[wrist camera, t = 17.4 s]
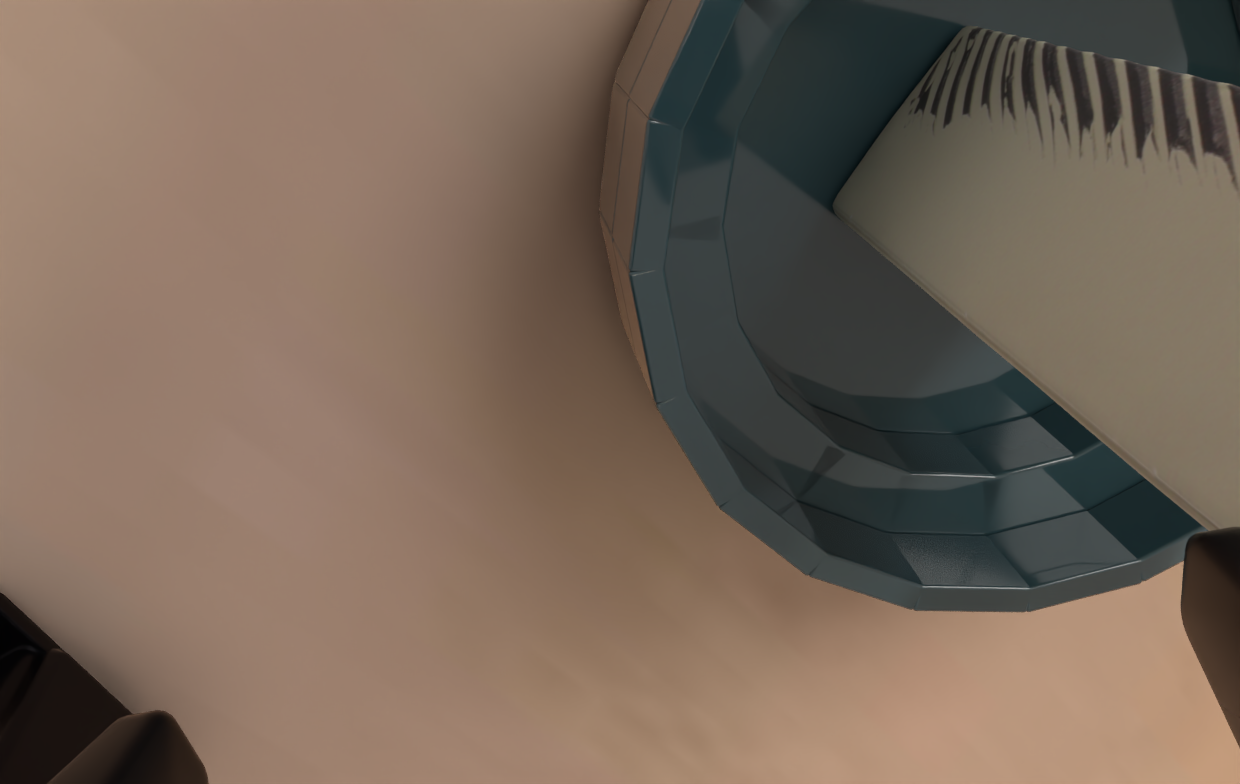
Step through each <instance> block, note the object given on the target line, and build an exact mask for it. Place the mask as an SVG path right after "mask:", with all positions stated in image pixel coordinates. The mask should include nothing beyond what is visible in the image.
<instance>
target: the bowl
mask: <svg viewBox="0 0 1240 784" xmlns="http://www.w3.org/2000/svg"><path fill="white" fill-rule="evenodd" d="M966 26H975V27H980V28H982V29H989V30H992V31H995V32H1002V33H1006V34H1009V35H1016V36H1019V37H1023V38H1030V39H1033V40H1036V41H1043V42H1048V43H1051V44H1054V45H1056V46H1066V47H1070V48H1073V49H1076V50H1079V51H1083V52H1093V53H1098V54H1101V55H1103V56H1106V57H1109V58H1116V59H1123V60H1128V61H1132V62H1135V63H1138V64H1141V65H1146V66H1153V67H1159V68H1162V69H1166V70H1169V71H1172V72H1176V73H1183V74H1189V75H1193V76H1197V77H1201V78H1203V79H1207V80H1210V81H1215V82H1221V83H1228V84H1233V85H1236V86H1239V87H1240V0H648V2H647V4H646V6H645V9H644V11H643V13H642V16H641V18H640V20H639V22H638V25H637V27H636V29H635V32H634V34H633V36H632V38H631V41H630V43H629V45H628V48H627V50H626V52H625V54H624V57H623V59H622V61H621V64H620V66H619V68H618V70H617V73H616V75H615V79H614V80H615V83H614V84H613V86H612V94H611V103H610V112H609V121H608V130H607V139H606V148H605V157H604V166H603V175H602V184H601V193H600V202H599V208H600V211H599V216H600V221H601V226H602V231H603V235H604V240H605V245H606V250H607V254H608V259H609V264H610V269H611V273H612V278H613V283H614V288H615V292H616V297H617V302H618V307H619V311H620V316H621V321H622V324H623V327H624V329H625V332H626V334H627V336H628V339H629V341H630V344H631V346H632V349H633V351H634V354H635V356H636V358H637V361H638V363H639V366H640V369H641V371H642V374H643V376H644V379H645V381H646V384H647V386H648V389H649V391H650V394H651V396H652V398H653V401H654V403H655V406H656V408H657V410H658V411H659V413H660V414H661V416H662V418H663V419H664V421H665V422H666V424H667V426H668V427H669V429H670V431H671V432H672V434H673V435H674V437H675V439H676V440H677V442H678V444H679V445H680V447H681V448H682V450H683V452H684V453H685V455H686V457H687V458H688V460H689V461H690V463H691V465H692V466H693V468H694V470H695V471H696V473H697V474H698V476H699V478H700V479H701V481H702V482H703V484H704V486H705V487H706V489H707V491H708V492H709V494H710V495H711V497H712V499H713V500H714V502H715V504H716V505H717V506H719V508H720V509H721V510H722V511H723V512H725V513H726V514H727V515H728V516H730V517H731V518H732V519H734V520H735V521H736V522H738V523H739V524H740V525H741V526H743V527H744V528H745V529H747V530H748V531H749V532H750V533H752V534H753V535H754V536H756V537H757V538H758V539H760V540H761V541H762V542H763V543H765V544H766V545H767V546H769V547H770V548H771V549H773V550H774V551H775V552H776V553H778V554H779V555H780V556H782V557H783V558H784V559H785V560H787V561H788V562H789V563H791V564H792V565H793V566H795V567H796V568H797V569H798V570H800V571H801V572H802V573H804V574H805V575H809V576H810V577H812V578H815V579H818V580H821V581H825V582H828V583H831V584H834V585H837V586H840V587H843V588H846V589H849V590H852V591H855V592H858V593H861V594H864V595H867V596H870V597H873V598H876V599H879V600H882V601H886V602H889V603H892V604H895V605H898V606H901V607H904V608H907V609H910V610H912V609H913V610H915V611H966V612H1026V611H1027V612H1031V611H1035V610H1039V609H1043V608H1047V607H1051V606H1054V605H1058V604H1062V603H1066V602H1070V601H1074V600H1078V599H1082V598H1086V597H1090V596H1094V595H1098V594H1102V593H1105V592H1109V591H1113V590H1117V589H1121V588H1125V587H1129V586H1133V585H1137V584H1140V583H1141V582H1142V581H1146V580H1148V579H1150V578H1152V577H1154V576H1156V575H1158V574H1160V573H1162V572H1163V571H1165V570H1167V569H1169V568H1171V567H1173V566H1175V565H1177V564H1179V563H1181V562H1183V561H1184V554H1185V547H1186V543H1187V541H1188V539H1189V538H1190V537H1191V536H1192V535H1194V534H1196V533H1199V532H1205V531H1209V530H1207V529H1206V528H1205V527H1203V526H1202V525H1201V524H1200V523H1199V522H1197V521H1196V520H1195V519H1194V518H1193V517H1191V516H1190V515H1189V514H1188V513H1186V512H1185V511H1184V510H1183V509H1182V508H1180V507H1179V506H1178V505H1177V504H1176V503H1174V502H1173V501H1172V500H1171V499H1170V498H1168V497H1167V496H1166V495H1165V494H1163V493H1162V492H1161V491H1160V490H1159V489H1157V488H1156V487H1155V486H1154V485H1153V484H1151V483H1150V482H1149V481H1148V480H1147V479H1145V478H1144V477H1143V476H1142V475H1141V474H1139V473H1138V472H1137V471H1136V470H1135V469H1133V468H1132V467H1131V466H1130V465H1129V464H1128V463H1126V462H1125V461H1124V460H1123V459H1122V458H1121V457H1119V456H1118V455H1117V454H1116V453H1115V452H1113V451H1112V450H1111V449H1110V448H1109V447H1108V446H1106V445H1105V444H1104V443H1103V442H1102V441H1100V440H1099V439H1098V438H1097V437H1096V436H1095V435H1093V434H1092V433H1091V432H1090V431H1089V430H1088V429H1086V428H1085V427H1084V426H1083V425H1082V424H1080V423H1079V422H1078V421H1077V420H1076V419H1075V418H1073V417H1072V416H1071V415H1070V414H1069V413H1068V412H1067V411H1065V410H1064V409H1063V408H1062V407H1061V406H1060V405H1058V404H1057V403H1056V402H1055V401H1054V400H1053V399H1051V398H1050V397H1049V396H1048V395H1047V394H1046V393H1044V392H1043V391H1042V390H1041V389H1040V388H1039V387H1037V386H1036V385H1035V384H1034V383H1033V382H1032V381H1030V380H1029V379H1028V378H1027V377H1026V376H1024V375H1023V374H1022V373H1021V372H1020V371H1018V370H1017V369H1016V368H1015V367H1014V366H1012V365H1011V364H1010V363H1009V362H1008V361H1006V360H1005V359H1004V358H1003V357H1002V356H1000V355H999V354H998V353H997V352H996V351H994V350H993V349H992V348H991V347H990V346H988V345H987V344H986V343H985V342H984V341H982V340H981V339H980V338H979V337H978V336H976V335H975V334H974V333H973V332H972V331H971V330H970V329H968V328H967V327H966V326H965V325H964V324H963V323H961V322H960V321H959V320H958V319H957V318H956V317H954V316H953V315H952V314H951V313H950V312H949V311H947V310H946V309H945V308H944V307H943V306H942V305H940V304H939V303H938V302H937V301H936V300H935V299H934V298H932V297H931V296H930V295H929V294H928V293H927V292H925V291H924V290H923V289H922V288H921V287H920V286H918V285H917V284H916V283H915V282H914V281H913V280H911V279H910V278H909V277H908V276H907V275H906V274H904V273H903V272H902V271H901V270H900V269H898V268H897V267H896V266H895V265H894V264H893V263H891V262H890V261H889V260H888V259H887V258H886V257H884V256H883V255H882V254H881V253H880V252H879V251H877V250H876V249H875V248H874V247H873V246H871V245H870V244H869V243H868V242H867V241H866V240H864V239H863V238H862V237H861V236H860V235H858V234H857V233H856V232H855V231H854V230H853V229H851V228H850V227H849V226H848V225H847V224H845V223H844V222H843V221H842V220H841V219H840V218H838V216H837V215H836V214H835V212H834V209H833V202H834V200H835V198H836V197H837V195H838V193H839V192H840V190H841V189H842V188H843V186H844V185H845V183H846V182H847V180H848V179H849V178H850V176H851V175H852V173H853V172H854V170H855V169H856V168H857V166H858V165H859V163H860V162H861V161H862V159H863V158H864V156H865V155H866V153H867V152H868V150H869V149H870V148H871V146H872V145H873V143H874V142H875V141H876V139H877V138H878V137H879V135H880V134H881V132H882V131H883V130H884V128H885V127H886V125H887V124H888V123H889V121H890V120H891V119H892V117H893V116H894V115H895V113H896V112H897V111H898V110H899V108H900V107H901V106H902V104H903V103H904V102H905V100H906V99H907V98H908V96H909V95H910V94H911V92H912V91H913V90H914V89H915V87H916V86H917V85H918V84H919V82H920V81H921V80H922V78H923V77H924V76H925V75H926V73H927V72H928V71H929V70H930V68H931V67H932V66H933V64H934V63H935V62H936V61H937V59H938V58H939V57H940V56H941V54H942V53H943V52H944V51H945V49H946V48H947V47H948V45H949V44H950V43H951V42H952V40H953V39H954V38H955V36H956V35H957V34H958V33H959V32H960V30H961V29H962V28H964V27H966Z"/></svg>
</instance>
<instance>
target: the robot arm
mask: <svg viewBox="0 0 1240 784" xmlns="http://www.w3.org/2000/svg"><path fill="white" fill-rule="evenodd" d="M1181 615H1182V620H1183V625H1184V628H1185V631H1186V634H1187V636H1188V638H1189V641H1190V643H1191V645H1192V647H1193V649H1194V651H1195V653H1196V656H1197V658H1198V660H1199V662H1200V664H1201V666H1202V668H1203V671H1204V673H1205V675H1206V677H1207V679H1208V681H1209V683H1210V685H1211V688H1212V690H1213V692H1214V694H1215V696H1216V698H1217V700H1218V703H1219V705H1220V707H1221V709H1222V711H1223V713H1224V715H1225V718H1226V720H1227V722H1228V724H1229V726H1230V728H1231V730H1232V733H1233V735H1234V737H1235V739H1236V741H1237V743H1238V745H1239V748H1240V527H1228V528H1223V529H1217V530H1211V531H1205V532H1199V533H1196V534H1194V535H1192V536H1191V537H1190V538H1189V539H1188V541H1187V543H1186V547H1185V554H1184V568H1183V581H1182V595H1181ZM0 784H208V777H207V773H206V770H205V767H204V765H203V763H202V762H201V760H200V758H199V757H198V755H197V754H196V752H195V750H194V749H193V747H192V746H191V744H190V742H189V741H188V739H187V738H186V736H185V734H184V733H183V731H182V730H181V728H180V726H179V725H178V723H177V722H176V720H175V719H174V717H173V716H172V715H170V714H169V713H167V712H166V711H160V710H155V711H150V712H144V713H138V714H132V713H131V712H130V711H129V710H128V709H126V708H125V707H124V706H123V705H122V704H121V703H120V702H119V701H118V700H117V699H116V698H115V697H114V696H113V695H111V694H110V693H109V692H108V691H107V690H106V689H105V688H104V687H103V686H102V685H101V684H100V683H99V682H98V681H96V680H95V679H94V678H93V677H92V676H91V675H90V674H89V673H88V672H87V671H86V670H85V669H84V668H83V667H81V666H80V665H79V664H78V663H77V662H76V661H75V660H74V659H73V658H72V657H71V656H70V655H69V654H67V653H66V652H65V651H64V650H63V649H61V648H60V647H59V646H58V645H57V644H56V643H55V642H54V641H53V640H52V639H51V638H50V637H49V636H48V635H46V634H45V633H44V632H43V631H42V630H41V629H40V628H39V627H38V626H37V625H36V624H35V623H34V622H33V621H31V620H30V619H29V618H28V617H27V616H26V615H25V614H24V613H23V612H22V611H21V610H20V609H19V608H18V607H16V606H15V605H14V604H13V603H12V602H11V601H10V600H9V599H8V598H7V597H6V596H5V595H4V594H2V593H0Z"/></svg>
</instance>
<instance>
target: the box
mask: <svg viewBox="0 0 1240 784" xmlns="http://www.w3.org/2000/svg"><path fill="white" fill-rule="evenodd" d="M833 209H834V212H835V214H836V215H837V216H838V218H840V219H841V220H842V221H843V222H844V223H845V224H847V225H848V226H849V227H850V228H851V229H853V230H854V231H855V232H856V233H857V234H858V235H860V236H861V237H862V238H863V239H864V240H866V241H867V242H868V243H869V244H870V245H871V246H873V247H874V248H875V249H876V250H877V251H879V252H880V253H881V254H882V255H883V256H884V257H886V258H887V259H888V260H889V261H890V262H891V263H893V264H894V265H895V266H896V267H897V268H898V269H900V270H901V271H902V272H903V273H904V274H906V275H907V276H908V277H909V278H910V279H911V280H913V281H914V282H915V283H916V284H917V285H918V286H920V287H921V288H922V289H923V290H924V291H925V292H927V293H928V294H929V295H930V296H931V297H932V298H934V299H935V300H936V301H937V302H938V303H939V304H940V305H942V306H943V307H944V308H945V309H946V310H947V311H949V312H950V313H951V314H952V315H953V316H954V317H956V318H957V319H958V320H959V321H960V322H961V323H963V324H964V325H965V326H966V327H967V328H968V329H970V330H971V331H972V332H973V333H974V334H975V335H976V336H978V337H979V338H980V339H981V340H982V341H984V342H985V343H986V344H987V345H988V346H990V347H991V348H992V349H993V350H994V351H996V352H997V353H998V354H999V355H1000V356H1002V357H1003V358H1004V359H1005V360H1006V361H1008V362H1009V363H1010V364H1011V365H1012V366H1014V367H1015V368H1016V369H1017V370H1018V371H1020V372H1021V373H1022V374H1023V375H1024V376H1026V377H1027V378H1028V379H1029V380H1030V381H1032V382H1033V383H1034V384H1035V385H1036V386H1037V387H1039V388H1040V389H1041V390H1042V391H1043V392H1044V393H1046V394H1047V395H1048V396H1049V397H1050V398H1051V399H1053V400H1054V401H1055V402H1056V403H1057V404H1058V405H1060V406H1061V407H1062V408H1063V409H1064V410H1065V411H1067V412H1068V413H1069V414H1070V415H1071V416H1072V417H1073V418H1075V419H1076V420H1077V421H1078V422H1079V423H1080V424H1082V425H1083V426H1084V427H1085V428H1086V429H1088V430H1089V431H1090V432H1091V433H1092V434H1093V435H1095V436H1096V437H1097V438H1098V439H1099V440H1100V441H1102V442H1103V443H1104V444H1105V445H1106V446H1108V447H1109V448H1110V449H1111V450H1112V451H1113V452H1115V453H1116V454H1117V455H1118V456H1119V457H1121V458H1122V459H1123V460H1124V461H1125V462H1126V463H1128V464H1129V465H1130V466H1131V467H1132V468H1133V469H1135V470H1136V471H1137V472H1138V473H1139V474H1141V475H1142V476H1143V477H1144V478H1145V479H1147V480H1148V481H1149V482H1150V483H1151V484H1153V485H1154V486H1155V487H1156V488H1157V489H1159V490H1160V491H1161V492H1162V493H1163V494H1165V495H1166V496H1167V497H1168V498H1170V499H1171V500H1172V501H1173V502H1174V503H1176V504H1177V505H1178V506H1179V507H1180V508H1182V509H1183V510H1184V511H1185V512H1186V513H1188V514H1189V515H1190V516H1191V517H1193V518H1194V519H1195V520H1196V521H1197V522H1199V523H1200V524H1201V525H1202V526H1203V527H1205V528H1206V529H1207V530H1209V531H1211V530H1217V529H1223V528H1228V527H1240V87H1239V86H1236V85H1233V84H1228V83H1221V82H1215V81H1210V80H1207V79H1203V78H1201V77H1197V76H1193V75H1189V74H1183V73H1176V72H1172V71H1169V70H1166V69H1162V68H1159V67H1153V66H1146V65H1141V64H1138V63H1135V62H1132V61H1128V60H1123V59H1116V58H1109V57H1106V56H1103V55H1101V54H1098V53H1093V52H1083V51H1079V50H1076V49H1073V48H1070V47H1066V46H1056V45H1054V44H1051V43H1048V42H1043V41H1036V40H1033V39H1030V38H1023V37H1019V36H1016V35H1009V34H1006V33H1002V32H995V31H992V30H989V29H982V28H980V27H975V26H966V27H964V28H962V29H961V30H960V32H959V33H958V34H957V35H956V36H955V38H954V39H953V40H952V42H951V43H950V44H949V45H948V47H947V48H946V49H945V51H944V52H943V53H942V54H941V56H940V57H939V58H938V59H937V61H936V62H935V63H934V64H933V66H932V67H931V68H930V70H929V71H928V72H927V73H926V75H925V76H924V77H923V78H922V80H921V81H920V82H919V84H918V85H917V86H916V87H915V89H914V90H913V91H912V92H911V94H910V95H909V96H908V98H907V99H906V100H905V102H904V103H903V104H902V106H901V107H900V108H899V110H898V111H897V112H896V113H895V115H894V116H893V117H892V119H891V120H890V121H889V123H888V124H887V125H886V127H885V128H884V130H883V131H882V132H881V134H880V135H879V137H878V138H877V139H876V141H875V142H874V143H873V145H872V146H871V148H870V149H869V150H868V152H867V153H866V155H865V156H864V158H863V159H862V161H861V162H860V163H859V165H858V166H857V168H856V169H855V170H854V172H853V173H852V175H851V176H850V178H849V179H848V180H847V182H846V183H845V185H844V186H843V188H842V189H841V190H840V192H839V193H838V195H837V197H836V198H835V200H834V202H833Z"/></svg>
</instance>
